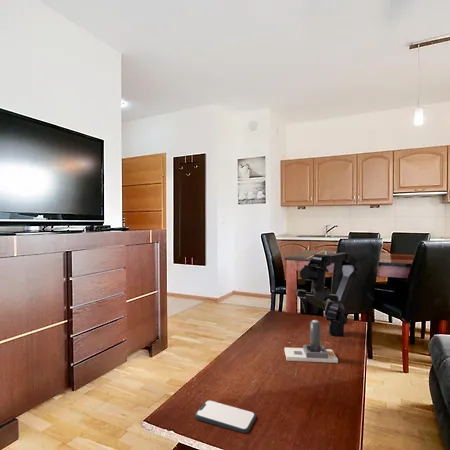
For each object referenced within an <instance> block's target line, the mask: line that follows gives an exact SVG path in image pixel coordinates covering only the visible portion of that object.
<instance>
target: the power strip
mask: <svg viewBox="0 0 450 450" xmlns="http://www.w3.org/2000/svg"><path fill="white" fill-rule="evenodd" d="M284 354H285V359H286V361H287V362H288V361H289V362H290V361H291V362H309V363H312V362H314V363H328V364H329V363H331V364H332V363H334V364H338V362H339V358H338V357H337V356H336V354H335V353H334V350H333V349H329V348H327V349H326V348H325V346H324V345H321V352H310V344H303V345H302V347H284Z"/></svg>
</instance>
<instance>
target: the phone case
mask: <svg viewBox="0 0 450 450" xmlns="http://www.w3.org/2000/svg"><path fill="white" fill-rule="evenodd" d="M194 417H195V419H196V420H197V421H200V422H203V423H207V424H210V425H214V426H217V427H220V428H223V429H228V430H230V429H231V431H234V432H237V431H239V432H238V433H241V432H242V434H247V433H249V432H250V429H251V427H252V426H253V424H254V422H255V421H256V418H257V415H256V413H255V412H253V411H251V410H250V411H249V410H247V409H244V408H243V409H242V408H239V407H235V406H232V405H229V404H224V403H222V402H217V401H215V400H212V399H211V400H210V399H208V400H206V401H205V402H204V403H203V404H202V405H201V406H200V407H199V408H198V410H197V411H196V412H195V414H194Z"/></svg>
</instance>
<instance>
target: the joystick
mask: <svg viewBox="0 0 450 450" xmlns="http://www.w3.org/2000/svg"><path fill="white" fill-rule="evenodd" d="M321 324H322V323H321V321H319V320H317V319H313V320H311V321H309V345H310V352H321V344H322V343H321V337H322V336H321V335H322V333H321V332H322V331H321V327H322V325H321Z"/></svg>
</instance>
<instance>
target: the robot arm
mask: <svg viewBox="0 0 450 450" xmlns="http://www.w3.org/2000/svg"><path fill="white" fill-rule="evenodd" d="M334 263H340V265H341V267H342V268H341V270H342V274H343V275H342V278H341V280H340V283H339V286H338V287H337V291H336V293H335V294H334V293H331V289H330V288H325V283H326V275H327V274H326V273H329V272H330V271H329V269H328V267H329V266H331V265H332V264H334ZM361 270H362V265H361V263H360V261H358V259H356V258H355V257H354V256H353V255H352V254H351V253H350V252H343V251H341V252H337V253H331V254H319V253H315V254H313V256H312V258H311V259H310V260H309V262H308V263H307V264H304V265H303V267H302V268H301V269H300V271H299V276H300V278H301V279H302V280H303V281H311V289H310V292H309V291H307V290H304V289H299V288H298V289H296V293H295V295H296V297H298V298H299V300H301V303H302V307H303V312H304V313H306V312H307V297H311V298H314V299H322V300H326V301H325V307H324V314H323V315H324V316H325V318H326V321H329V323H328V328H327V330H328V331H327V332H328V334H329V335H330V336H331V337H345V336H346V335H345V334H344V333H345V330H344V329H345V325H346V324H347V323H348V320H349V319H348V318H347V316H346V315H345V311H346V310H345V301H346V299H347V296H348V293H349V291H350V288H351V286H352V283H353V280H354V279H355V278H357V276H358V275H359V274H360V272H361Z"/></svg>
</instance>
